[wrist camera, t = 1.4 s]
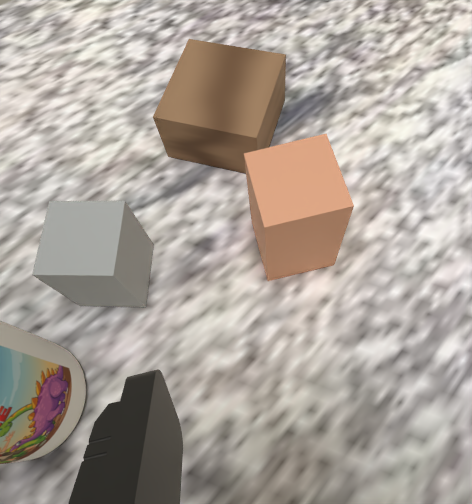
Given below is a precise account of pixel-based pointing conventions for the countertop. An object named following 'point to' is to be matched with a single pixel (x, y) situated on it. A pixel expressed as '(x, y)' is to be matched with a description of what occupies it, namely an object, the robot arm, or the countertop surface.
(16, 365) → the milk bottle
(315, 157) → the terracotta block
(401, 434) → the countertop surface
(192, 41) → the walnut block
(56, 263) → the slate block
